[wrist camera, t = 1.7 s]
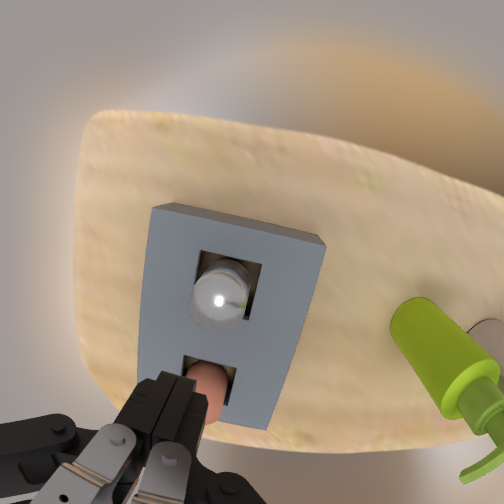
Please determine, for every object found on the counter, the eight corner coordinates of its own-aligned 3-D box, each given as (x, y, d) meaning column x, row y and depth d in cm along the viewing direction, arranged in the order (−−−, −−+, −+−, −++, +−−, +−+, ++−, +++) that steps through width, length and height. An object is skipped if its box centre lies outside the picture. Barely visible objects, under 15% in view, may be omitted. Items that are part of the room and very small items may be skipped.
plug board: (317, 234, 28) (326, 246, 23) (267, 401, 33) (266, 430, 28) (171, 202, 28) (152, 207, 23) (152, 372, 33) (137, 397, 28)
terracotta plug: (232, 365, 27) (224, 398, 22) (225, 395, 28) (217, 429, 23) (190, 354, 27) (176, 385, 23) (186, 385, 28) (173, 417, 23)
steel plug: (255, 265, 25) (250, 285, 20) (245, 309, 26) (238, 337, 21) (207, 254, 25) (192, 271, 20) (199, 298, 26) (184, 323, 21)
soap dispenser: (373, 327, 30) (454, 475, 10) (423, 286, 28) (546, 396, 9) (397, 359, 31) (470, 495, 11) (443, 322, 29) (545, 432, 10)
